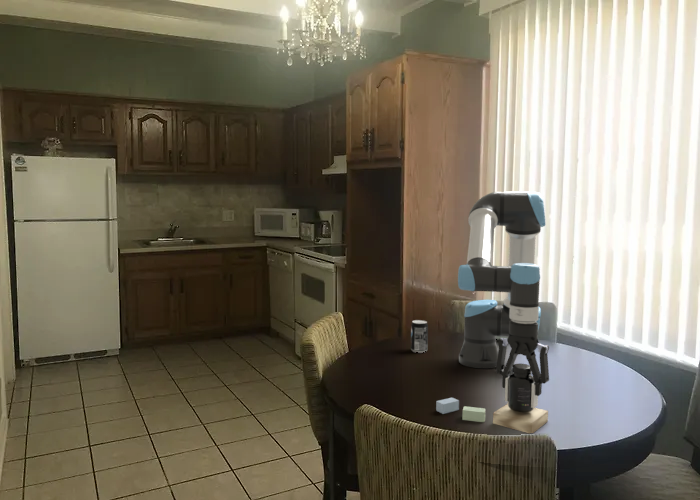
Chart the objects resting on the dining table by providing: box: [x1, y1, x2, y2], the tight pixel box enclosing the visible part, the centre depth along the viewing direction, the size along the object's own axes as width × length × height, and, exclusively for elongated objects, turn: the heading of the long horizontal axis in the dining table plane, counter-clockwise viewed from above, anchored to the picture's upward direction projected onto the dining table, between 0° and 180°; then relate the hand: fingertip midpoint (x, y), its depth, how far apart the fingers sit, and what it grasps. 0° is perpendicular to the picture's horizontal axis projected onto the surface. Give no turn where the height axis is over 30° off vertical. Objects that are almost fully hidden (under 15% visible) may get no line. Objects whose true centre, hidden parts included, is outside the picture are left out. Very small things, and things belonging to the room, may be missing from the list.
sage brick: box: [461, 405, 486, 423], centre depth 160 cm, size 6×3×3 cm, turn 72°
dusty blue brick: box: [435, 397, 460, 415], centre depth 166 cm, size 6×3×3 cm, turn 122°
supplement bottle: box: [507, 363, 534, 413], centre depth 156 cm, size 7×7×12 cm
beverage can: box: [410, 319, 429, 354], centre depth 229 cm, size 7×7×12 cm
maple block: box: [492, 403, 549, 434], centre depth 157 cm, size 11×11×3 cm
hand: (521, 402), depth 157 cm, fingers closed on supplement bottle, 7 cm apart
